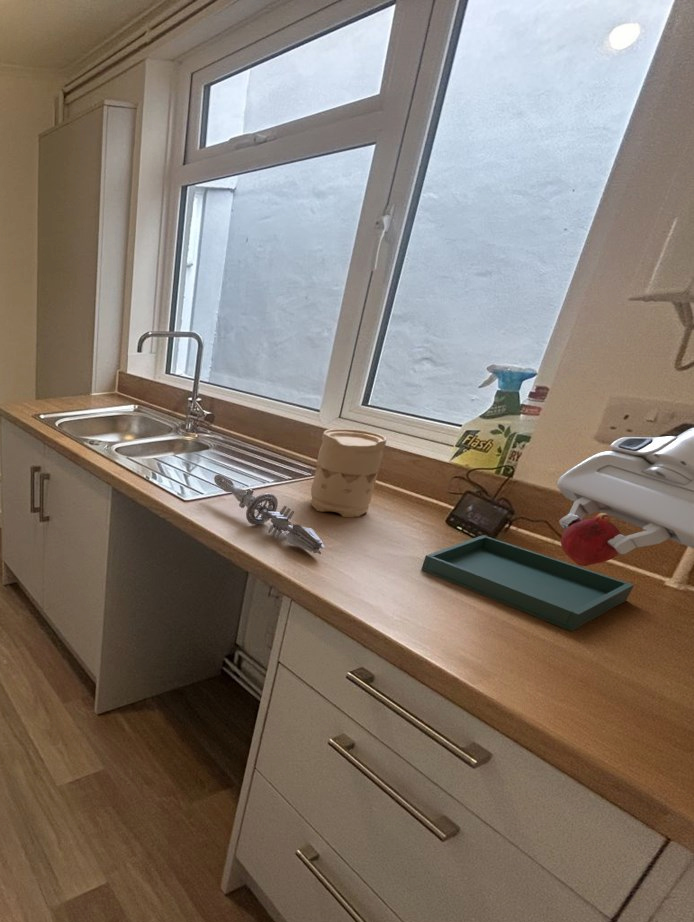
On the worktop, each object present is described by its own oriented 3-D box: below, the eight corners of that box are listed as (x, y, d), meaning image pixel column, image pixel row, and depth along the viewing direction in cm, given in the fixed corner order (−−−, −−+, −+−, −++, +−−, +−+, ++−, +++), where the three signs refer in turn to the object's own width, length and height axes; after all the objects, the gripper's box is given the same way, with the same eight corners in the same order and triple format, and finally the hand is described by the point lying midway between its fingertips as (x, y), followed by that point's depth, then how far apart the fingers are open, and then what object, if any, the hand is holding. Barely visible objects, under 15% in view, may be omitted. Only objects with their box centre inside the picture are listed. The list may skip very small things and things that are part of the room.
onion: (597, 579, 71) (622, 525, 68) (544, 561, 76) (564, 510, 73) (618, 570, 73) (643, 517, 70) (565, 552, 78) (586, 503, 75)
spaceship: (234, 466, 132) (211, 458, 129) (345, 537, 102) (319, 528, 99) (217, 494, 135) (195, 486, 131) (322, 570, 105) (296, 563, 102)
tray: (626, 600, 89) (634, 584, 88) (571, 631, 81) (578, 614, 80) (478, 548, 107) (483, 534, 106) (420, 569, 99) (425, 555, 98)
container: (372, 520, 120) (392, 444, 113) (310, 513, 124) (327, 439, 118) (361, 501, 131) (380, 431, 124) (305, 495, 135) (320, 426, 128)
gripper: (811, 517, 60) (681, 590, 64) (627, 463, 79) (536, 522, 83) (791, 480, 58) (659, 557, 63) (608, 434, 77) (516, 496, 81)
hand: (588, 537), depth 73 cm, fingers closed on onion, 6 cm apart
